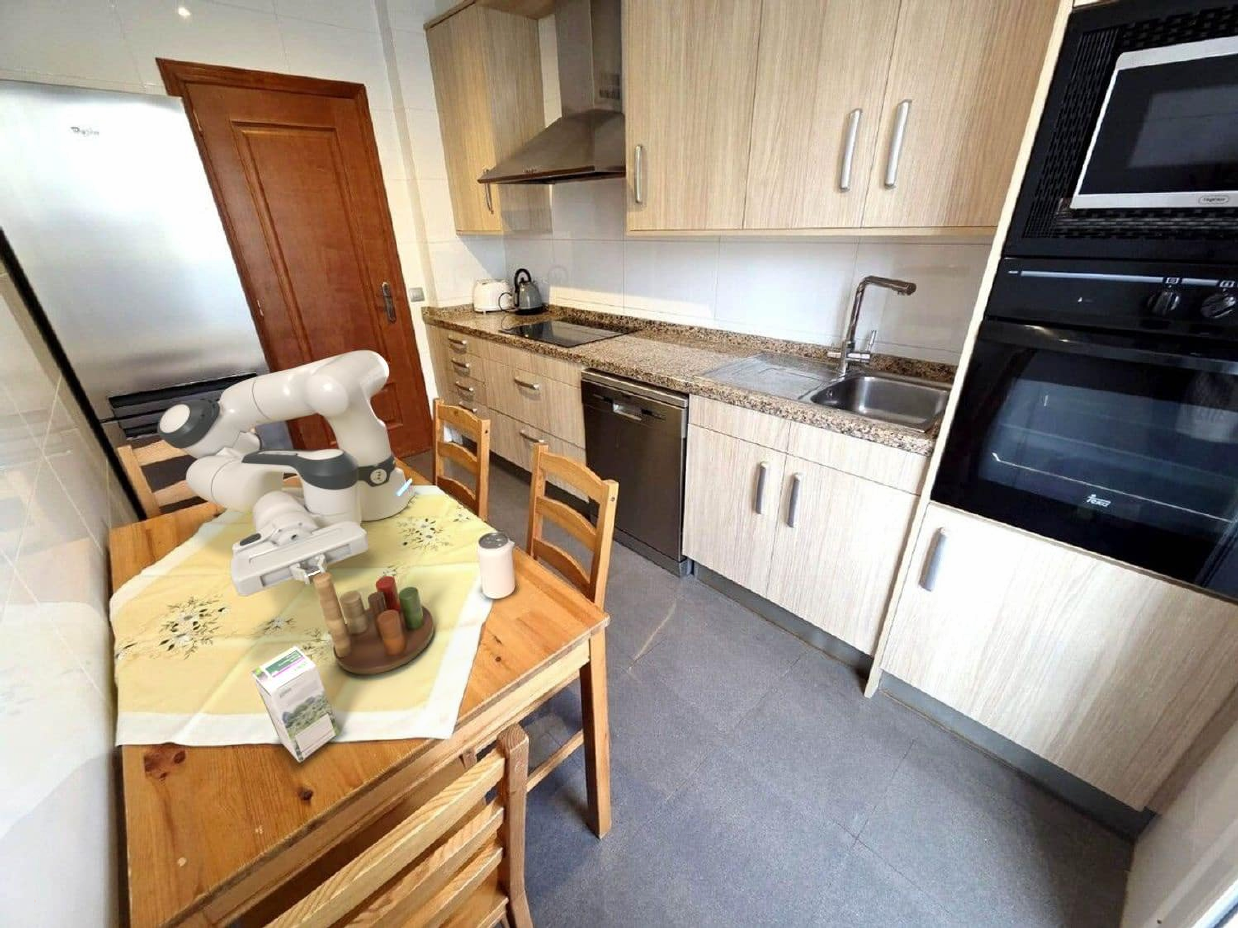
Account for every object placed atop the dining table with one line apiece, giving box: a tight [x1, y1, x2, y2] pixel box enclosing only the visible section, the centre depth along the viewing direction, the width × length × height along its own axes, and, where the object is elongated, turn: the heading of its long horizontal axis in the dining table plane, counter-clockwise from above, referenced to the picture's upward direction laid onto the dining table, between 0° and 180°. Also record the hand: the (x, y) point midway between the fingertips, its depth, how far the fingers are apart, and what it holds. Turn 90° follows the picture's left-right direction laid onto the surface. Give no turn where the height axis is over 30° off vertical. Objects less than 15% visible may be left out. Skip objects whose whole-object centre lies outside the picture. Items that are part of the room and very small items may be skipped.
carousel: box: [313, 571, 435, 675], centre depth 85 cm, size 16×16×17 cm
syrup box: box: [250, 645, 340, 763], centre depth 69 cm, size 6×6×14 cm
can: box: [476, 531, 516, 600], centre depth 99 cm, size 6×6×12 cm
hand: (315, 577), depth 81 cm, fingers closed
